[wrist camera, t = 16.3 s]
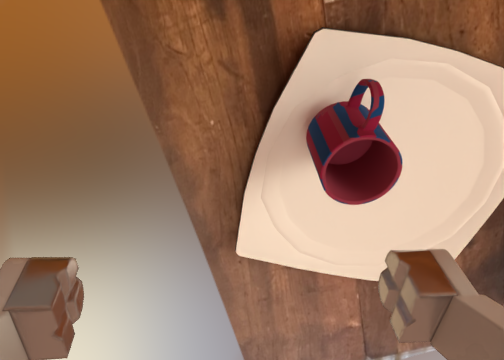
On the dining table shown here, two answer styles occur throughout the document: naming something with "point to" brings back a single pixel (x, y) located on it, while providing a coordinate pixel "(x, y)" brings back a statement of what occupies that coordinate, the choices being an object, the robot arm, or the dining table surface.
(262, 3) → the dining table surface
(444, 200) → the plate
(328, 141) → the mug
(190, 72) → the dining table surface
